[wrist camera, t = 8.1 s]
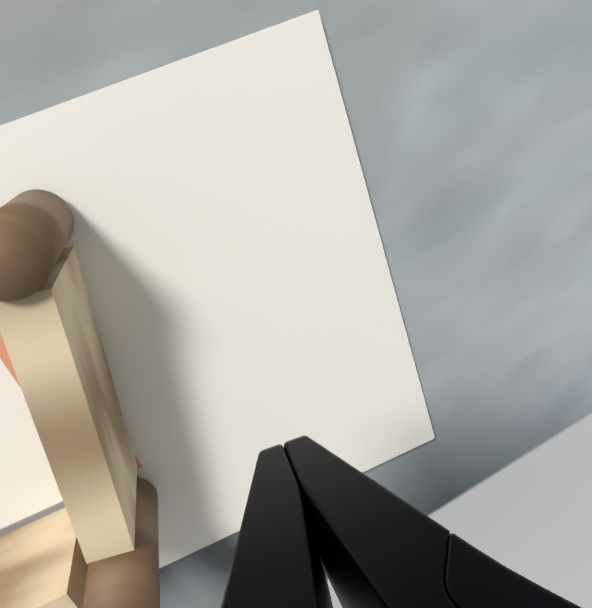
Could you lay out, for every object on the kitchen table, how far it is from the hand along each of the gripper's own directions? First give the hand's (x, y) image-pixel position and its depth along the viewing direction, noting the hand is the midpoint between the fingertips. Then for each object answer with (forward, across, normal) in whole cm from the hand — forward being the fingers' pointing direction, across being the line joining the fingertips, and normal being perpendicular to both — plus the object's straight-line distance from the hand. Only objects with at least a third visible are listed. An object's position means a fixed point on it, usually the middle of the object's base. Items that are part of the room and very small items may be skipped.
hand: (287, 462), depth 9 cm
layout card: (+12, +6, +3) cm, 14 cm away
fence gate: (+11, +6, +3) cm, 13 cm away
